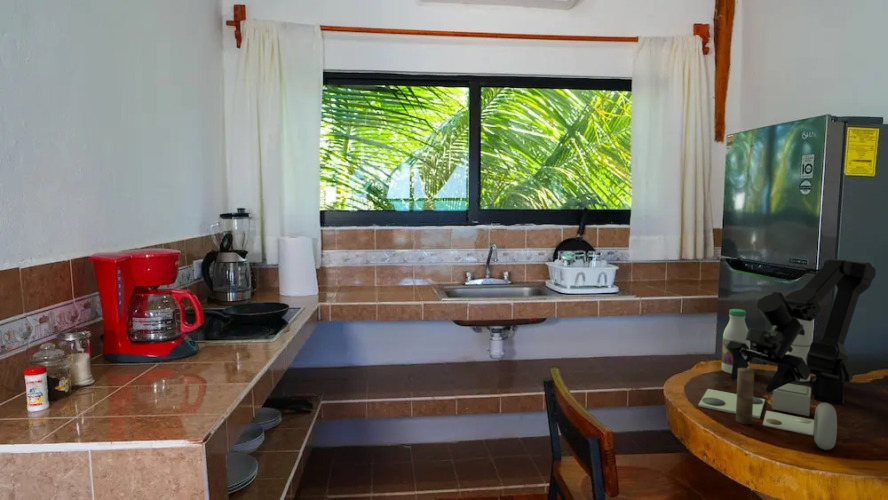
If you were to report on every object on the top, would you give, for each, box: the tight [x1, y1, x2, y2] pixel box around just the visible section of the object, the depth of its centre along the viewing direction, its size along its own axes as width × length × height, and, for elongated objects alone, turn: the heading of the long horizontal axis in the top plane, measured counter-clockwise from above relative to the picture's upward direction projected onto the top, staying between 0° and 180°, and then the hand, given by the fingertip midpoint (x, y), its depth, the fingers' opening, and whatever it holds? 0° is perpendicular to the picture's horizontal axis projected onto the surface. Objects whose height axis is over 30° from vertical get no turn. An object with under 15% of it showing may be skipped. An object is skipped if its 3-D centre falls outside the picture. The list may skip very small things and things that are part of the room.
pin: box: [735, 368, 755, 425], centre depth 128 cm, size 4×4×13 cm
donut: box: [813, 402, 838, 451], centre depth 114 cm, size 10×4×10 cm, turn 149°
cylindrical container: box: [785, 319, 814, 382], centre depth 159 cm, size 7×7×25 cm
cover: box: [771, 383, 812, 417], centre depth 137 cm, size 8×8×5 cm
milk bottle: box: [721, 308, 751, 375], centre depth 165 cm, size 8×8×20 cm
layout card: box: [762, 410, 814, 437], centre depth 127 cm, size 10×10×1 cm
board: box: [697, 388, 766, 420], centre depth 140 cm, size 14×14×1 cm
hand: (749, 385), depth 128 cm, fingers open, 9 cm apart
